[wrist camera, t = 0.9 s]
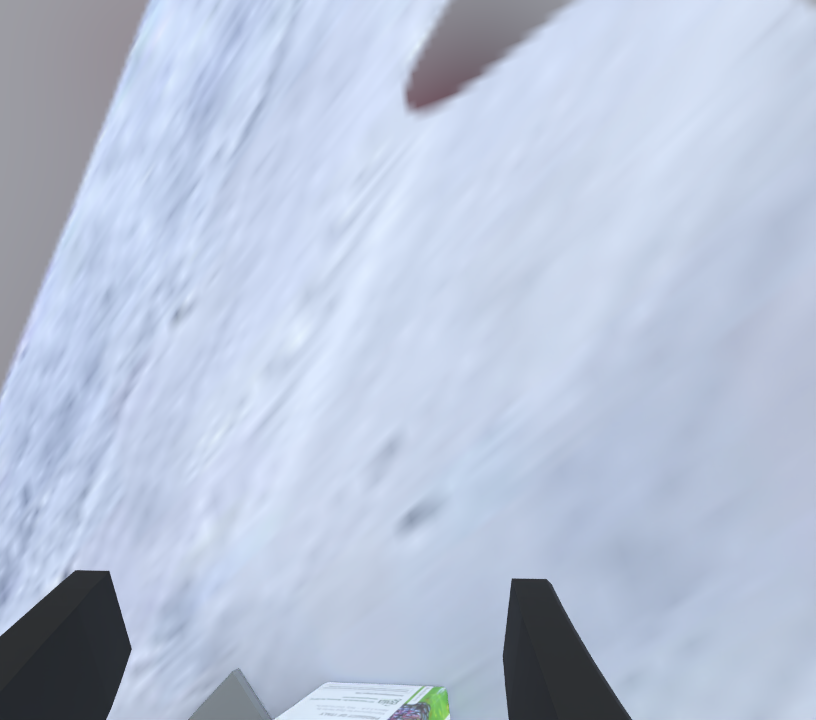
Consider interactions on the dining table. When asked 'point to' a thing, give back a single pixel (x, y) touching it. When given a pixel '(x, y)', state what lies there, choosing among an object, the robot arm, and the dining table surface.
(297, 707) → the syrup box
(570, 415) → the dining table surface
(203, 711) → the grey mat
